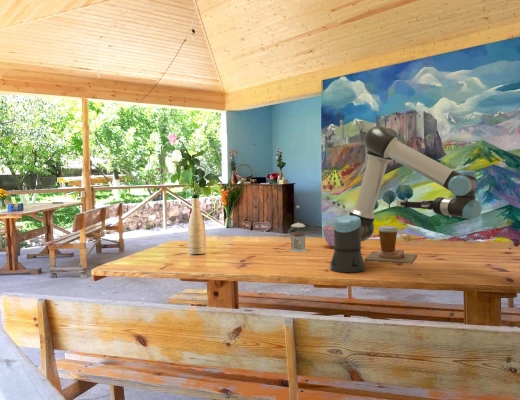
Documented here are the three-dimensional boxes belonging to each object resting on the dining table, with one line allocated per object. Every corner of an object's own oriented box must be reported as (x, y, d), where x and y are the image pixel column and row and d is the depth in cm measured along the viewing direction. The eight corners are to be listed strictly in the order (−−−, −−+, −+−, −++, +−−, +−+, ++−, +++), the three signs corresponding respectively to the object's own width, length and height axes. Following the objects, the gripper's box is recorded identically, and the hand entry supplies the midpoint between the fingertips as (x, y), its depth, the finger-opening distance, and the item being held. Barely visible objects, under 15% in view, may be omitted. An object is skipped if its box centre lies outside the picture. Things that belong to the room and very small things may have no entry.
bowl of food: (323, 244, 269) (323, 224, 268) (357, 244, 265) (357, 225, 264) (321, 249, 249) (321, 229, 249) (358, 250, 245) (358, 229, 244)
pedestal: (411, 264, 208) (411, 255, 208) (364, 260, 217) (364, 252, 217) (416, 255, 228) (416, 248, 228) (373, 253, 237) (373, 245, 237)
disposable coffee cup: (400, 252, 215) (400, 228, 215) (380, 252, 216) (380, 228, 215) (395, 249, 225) (395, 225, 224) (376, 249, 225) (376, 225, 225)
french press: (299, 252, 243) (299, 206, 241) (283, 250, 251) (282, 205, 249) (310, 250, 250) (310, 205, 248) (294, 247, 258) (294, 204, 256)
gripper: (424, 216, 188) (387, 211, 206) (464, 213, 199) (426, 209, 218) (424, 198, 187) (388, 195, 206) (464, 197, 199) (426, 193, 217)
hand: (407, 202), depth 212 cm, fingers open, 13 cm apart
